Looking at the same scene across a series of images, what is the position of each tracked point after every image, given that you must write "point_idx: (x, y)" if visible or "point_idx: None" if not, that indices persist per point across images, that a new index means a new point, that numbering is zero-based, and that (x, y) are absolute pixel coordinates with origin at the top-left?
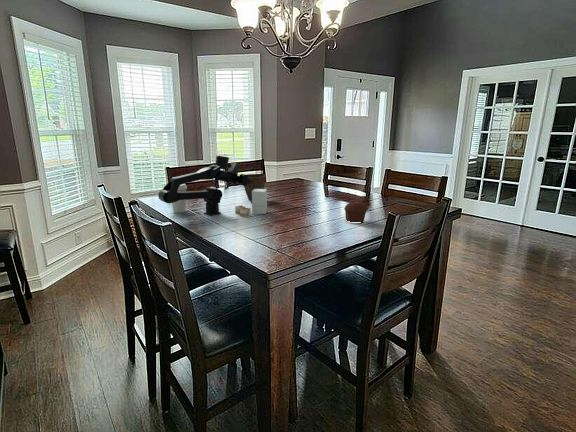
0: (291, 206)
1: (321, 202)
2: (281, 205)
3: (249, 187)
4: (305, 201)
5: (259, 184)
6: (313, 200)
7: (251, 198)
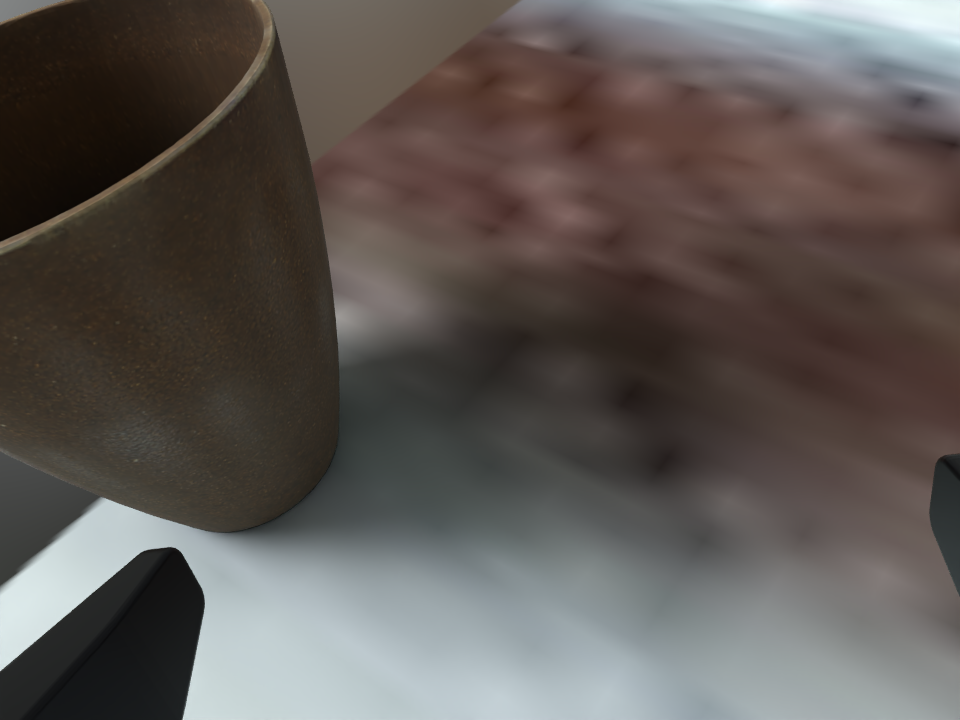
0: (890, 242)
1: (822, 4)
2: (769, 309)
3: (168, 413)
4: (701, 76)
5: (304, 225)
6: (700, 25)
7: (262, 501)
